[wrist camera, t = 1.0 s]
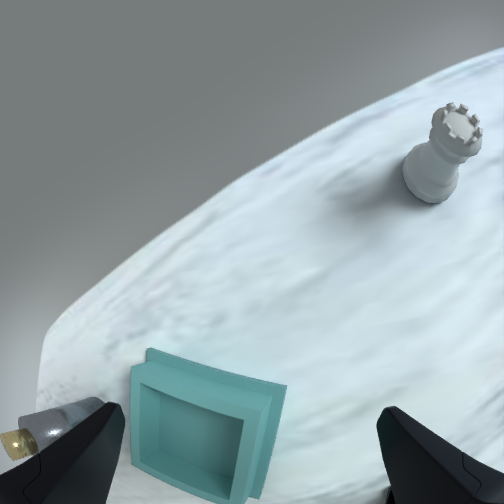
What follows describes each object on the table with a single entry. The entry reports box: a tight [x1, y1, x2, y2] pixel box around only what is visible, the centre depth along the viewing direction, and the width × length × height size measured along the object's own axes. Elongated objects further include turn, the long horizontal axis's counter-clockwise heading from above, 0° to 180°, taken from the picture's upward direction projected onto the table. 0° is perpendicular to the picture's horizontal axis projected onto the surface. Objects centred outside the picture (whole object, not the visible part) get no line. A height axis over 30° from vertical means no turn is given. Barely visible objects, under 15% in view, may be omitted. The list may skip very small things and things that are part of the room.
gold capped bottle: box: [0, 397, 105, 461], centre depth 18 cm, size 6×5×13 cm
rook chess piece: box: [402, 103, 483, 203], centre depth 14 cm, size 4×4×8 cm
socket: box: [130, 348, 287, 504], centre depth 19 cm, size 12×12×4 cm
